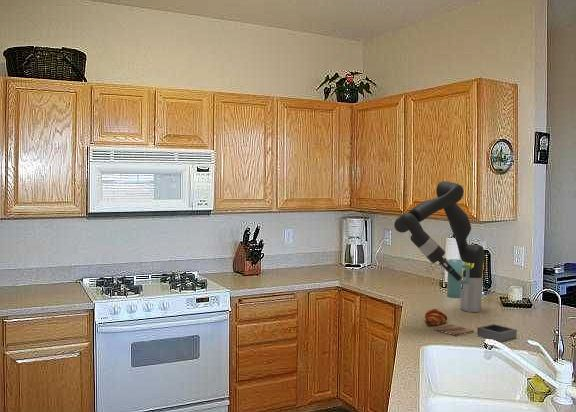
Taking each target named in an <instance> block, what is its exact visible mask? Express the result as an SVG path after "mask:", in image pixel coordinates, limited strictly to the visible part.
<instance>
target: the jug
mask: <svg viewBox="0 0 576 412" xmlns="http://www.w3.org/2000/svg"><path fill="white" fill-rule="evenodd" d="M447 260H448V261H449V263H450V264H451V265H452V266H453V269H455V270H456V272H457V273H458V274H459V275H460V276H461V279H460V280H459V281H457V280H456V279H455V278H454V277H453V276H452V275H451V274H450V273H449V272H447V280H446V281H447V283H446V284H447V285H446V297H447V298H449V299H450V298H451V299H461V291H462V290H463V284H469V272H470V269H471V267H470V265H469V264H463V261H462V260H461V259H455V258H453V259H447ZM453 269H450V270H449V271H450V272H451V271H452V270H453ZM463 269H465V270H466V281H463Z"/></svg>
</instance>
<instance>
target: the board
mask: <svg viewBox="0 0 576 412" xmlns="http://www.w3.org/2000/svg"><path fill="white" fill-rule="evenodd" d="M434 329H435V330H439V331H443V332H447V333H451V334H454V335H460V334H464V333H468V334H471V333H470V332H472V333H474V332H475V330H474V329H470V328H467V327H462V326H459V325H454V324H446V325H441V326H437V327H433V330H434ZM435 330H434V331H435ZM439 331H438V332H439ZM464 335H465V334H464ZM460 336H461V335H460Z"/></svg>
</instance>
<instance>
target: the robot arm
mask: <svg viewBox="0 0 576 412" xmlns="http://www.w3.org/2000/svg"><path fill="white" fill-rule="evenodd" d="M435 189H436V191H435V193H436V197H435V198H431V199H428V200H424V201H422V202H419V203H418V204H417V205H416V206H414V207H413V208H411V209H410V210H409V211H408V212H405V213H403V214H402V215H400V216H399V217H397V218H396V219H395V221H394V225H393V226H394V227H393V228H394V229H395V231H397V232H398V233H401V234H403V233H407V232H408V231H409V232H410V234H411V236H410V241H411V242H412V243H413V244H414V246H416V247H417V248H418V249H419V250H420V252H421V254H422V255H424V256H425V258H427V260H428V261H429V262H430V263H432V264H435V263H437V262H438V265H439V266H440V267H441V268H443V269H444V270H445V272H446V273H448V272H449V273H450V274H451V275H452V276H453V277H454V278H455V279H456V280H457V281H459V280H460V279H461V276H460V275H459V274H458V273H457V272H456V270H455V269H453V266H452V265H451V264H450V263H449V261H448V260H449V259H447V258H446V257H443V256H444V255H446V251H445V249H443V248H442V246H440V245H439V243H437V242H436V241H435V239H433V238H432V237H431V236H430V235H429V234H428V233H427V232H426V231H425V230H424V228H423V227H422V225H421V222H422V221H424V220H425V219H428V218H429V217H431V215H433V214H436V213H438V212H439V211H441V210H444V213H445V215H446V218H447V220H448V223H449V226H450V228H451V229H450V230H451V231H452V234H453V237H454V239H455V242H456V245H457V250H458V253H459V257H460V260H462V263H468V264H473V267H470V272H469V284H462V290H461V298H460V308H459V309H460V310H462V311H464V312H469V313H479V312H482V296H483V295H482V293H483V290H482V289H483V273H484V271H483V270H484V260H485V259H484V258H485V249H484V247H483V246H482V245H478V244H468V242H467V239H468V236H469V235H470V233H471V230H472V225H471V222H470V219H469V216H468V215H467V214H466V212H465V211H464V210H463V208H461V207H460V206H459V204H457V203H459V202H460V201H461V200H462V199H463V197H464V187H463V186H462V184H459V183H455V182H450V181H446V180H444V181H442V180H441V182H438V184H437V185H436V188H435ZM450 269H453V270H452V271H451V272H450V271H449V270H450ZM462 281H466V269H464V270H462Z"/></svg>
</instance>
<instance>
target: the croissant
mask: <svg viewBox="0 0 576 412" xmlns="http://www.w3.org/2000/svg"><path fill="white" fill-rule="evenodd" d="M424 314H425V315H424V319H425V323H426V324H427V325H428V326H433V325H434V326H440V325H439V324H441V325H442V324H445V322H448V315H447V314H446V313H445V312H444V311H442V310H440V309H439V308H430V309H428V310H427V311H426V312H425V313H424Z"/></svg>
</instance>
